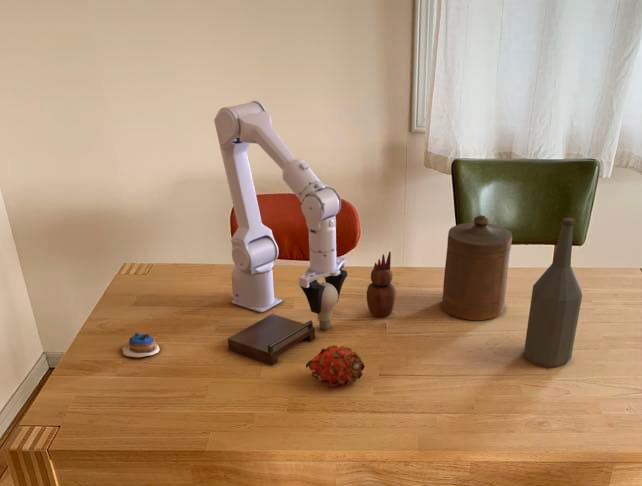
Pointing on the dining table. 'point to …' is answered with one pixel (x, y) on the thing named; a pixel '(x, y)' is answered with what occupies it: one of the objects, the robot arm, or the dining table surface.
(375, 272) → the wooden figurine
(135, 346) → the dessert
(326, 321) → the lightbulb
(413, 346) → the dining table surface
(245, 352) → the shelf
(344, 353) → the dragon fruit
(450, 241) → the wooden container
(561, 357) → the bottle
